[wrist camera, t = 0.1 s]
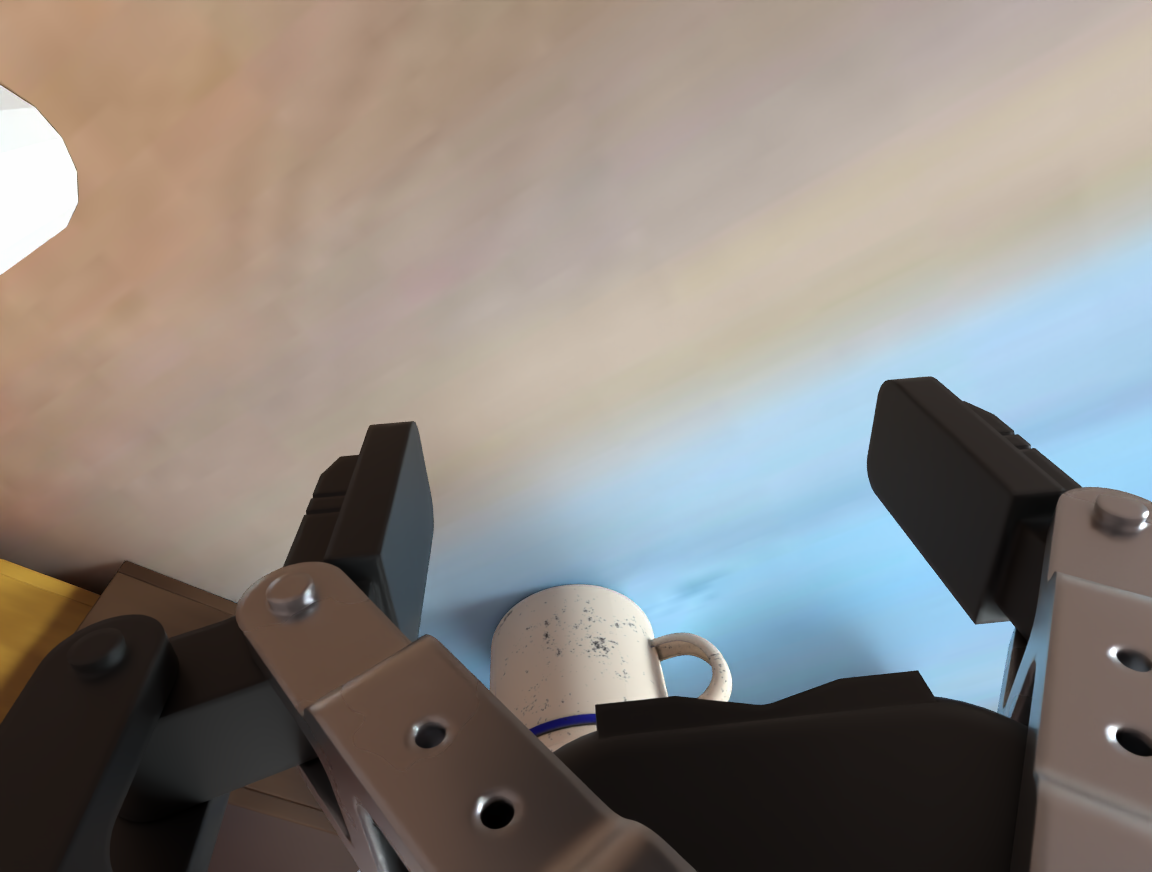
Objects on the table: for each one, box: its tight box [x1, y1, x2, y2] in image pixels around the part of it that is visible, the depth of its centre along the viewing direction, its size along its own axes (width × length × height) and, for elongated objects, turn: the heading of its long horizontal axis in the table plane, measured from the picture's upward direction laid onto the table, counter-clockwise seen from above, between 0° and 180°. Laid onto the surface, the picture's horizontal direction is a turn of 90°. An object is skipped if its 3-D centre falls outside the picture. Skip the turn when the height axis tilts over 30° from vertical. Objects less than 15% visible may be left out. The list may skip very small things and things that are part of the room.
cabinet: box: [74, 561, 359, 872], centre depth 35 cm, size 15×13×10 cm
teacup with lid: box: [490, 584, 732, 752], centre depth 33 cm, size 12×9×12 cm
